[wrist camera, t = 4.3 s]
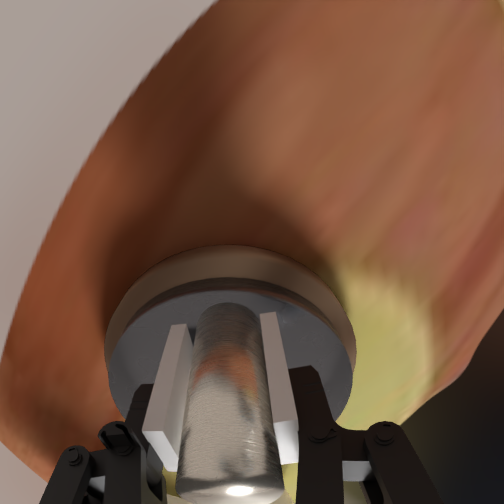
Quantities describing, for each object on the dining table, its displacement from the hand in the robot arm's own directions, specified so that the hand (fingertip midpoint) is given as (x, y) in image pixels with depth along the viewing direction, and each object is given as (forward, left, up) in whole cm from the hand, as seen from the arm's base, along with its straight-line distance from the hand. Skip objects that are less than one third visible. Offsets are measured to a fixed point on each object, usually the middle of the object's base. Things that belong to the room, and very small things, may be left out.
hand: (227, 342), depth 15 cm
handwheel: (-2, +5, -3) cm, 6 cm away
